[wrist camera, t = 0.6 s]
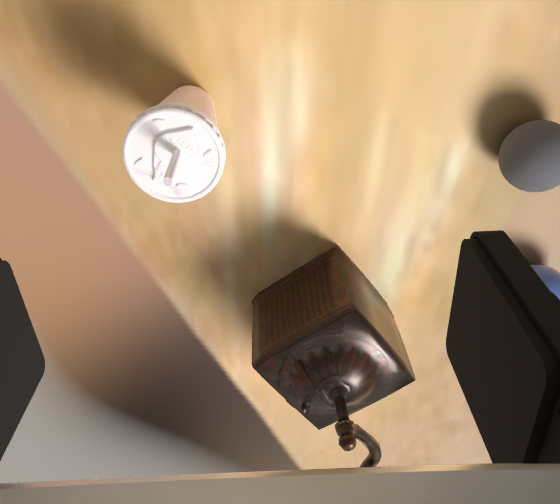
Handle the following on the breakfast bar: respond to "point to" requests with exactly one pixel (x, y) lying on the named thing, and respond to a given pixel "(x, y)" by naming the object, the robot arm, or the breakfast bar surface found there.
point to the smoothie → (176, 147)
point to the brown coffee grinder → (329, 345)
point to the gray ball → (532, 156)
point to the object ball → (549, 278)
